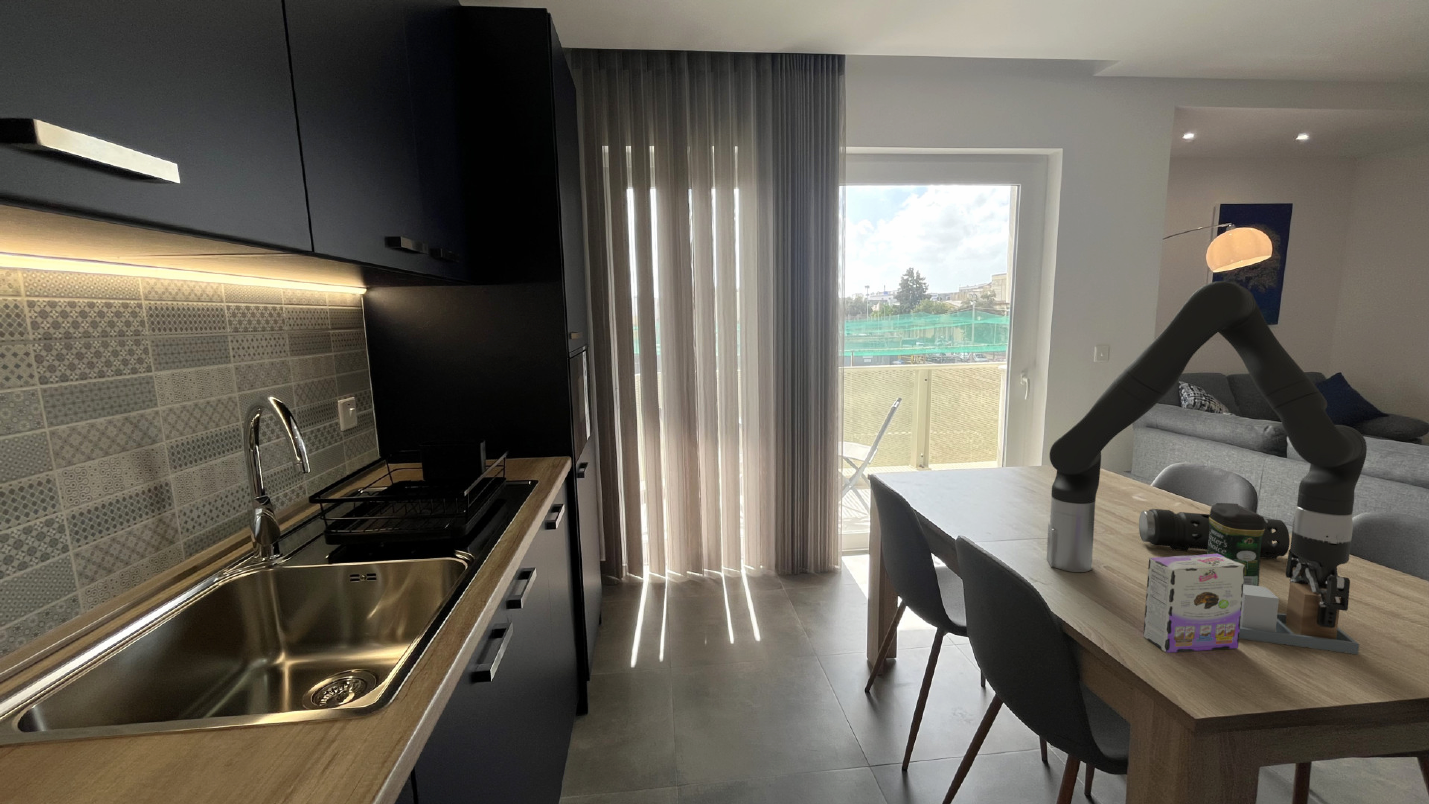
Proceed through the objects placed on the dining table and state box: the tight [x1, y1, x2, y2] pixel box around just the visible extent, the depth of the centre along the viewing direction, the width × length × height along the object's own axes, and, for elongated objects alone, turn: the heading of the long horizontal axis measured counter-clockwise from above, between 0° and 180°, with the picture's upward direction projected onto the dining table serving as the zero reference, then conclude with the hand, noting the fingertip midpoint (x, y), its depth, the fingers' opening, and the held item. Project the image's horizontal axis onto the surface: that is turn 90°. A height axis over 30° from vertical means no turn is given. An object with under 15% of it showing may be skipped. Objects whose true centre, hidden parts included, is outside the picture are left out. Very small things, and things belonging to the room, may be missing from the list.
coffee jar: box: [1206, 502, 1265, 586], centre depth 128 cm, size 10×8×19 cm
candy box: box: [1143, 554, 1245, 654], centre depth 107 cm, size 14×6×16 cm, turn 92°
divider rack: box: [1239, 584, 1360, 655], centre depth 109 cm, size 18×9×8 cm, turn 68°
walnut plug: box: [1285, 582, 1341, 640], centre depth 108 cm, size 5×5×9 cm
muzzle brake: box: [1138, 508, 1291, 560], centre depth 147 cm, size 10×28×10 cm, turn 67°
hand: (1311, 615), depth 108 cm, fingers open, 8 cm apart
